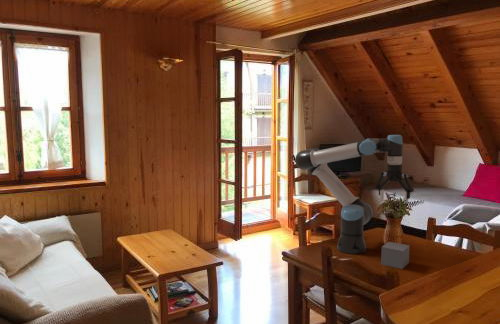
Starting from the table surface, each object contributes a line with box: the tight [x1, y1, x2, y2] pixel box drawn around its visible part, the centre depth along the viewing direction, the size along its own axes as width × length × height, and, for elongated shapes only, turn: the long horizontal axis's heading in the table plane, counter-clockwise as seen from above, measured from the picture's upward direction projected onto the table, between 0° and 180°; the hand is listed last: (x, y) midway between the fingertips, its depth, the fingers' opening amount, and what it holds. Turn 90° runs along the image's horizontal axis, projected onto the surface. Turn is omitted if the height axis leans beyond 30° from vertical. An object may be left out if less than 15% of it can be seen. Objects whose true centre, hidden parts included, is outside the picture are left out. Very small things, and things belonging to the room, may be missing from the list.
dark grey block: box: [380, 241, 411, 270], centre depth 205 cm, size 10×10×9 cm
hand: (393, 203), depth 226 cm, fingers open, 13 cm apart
